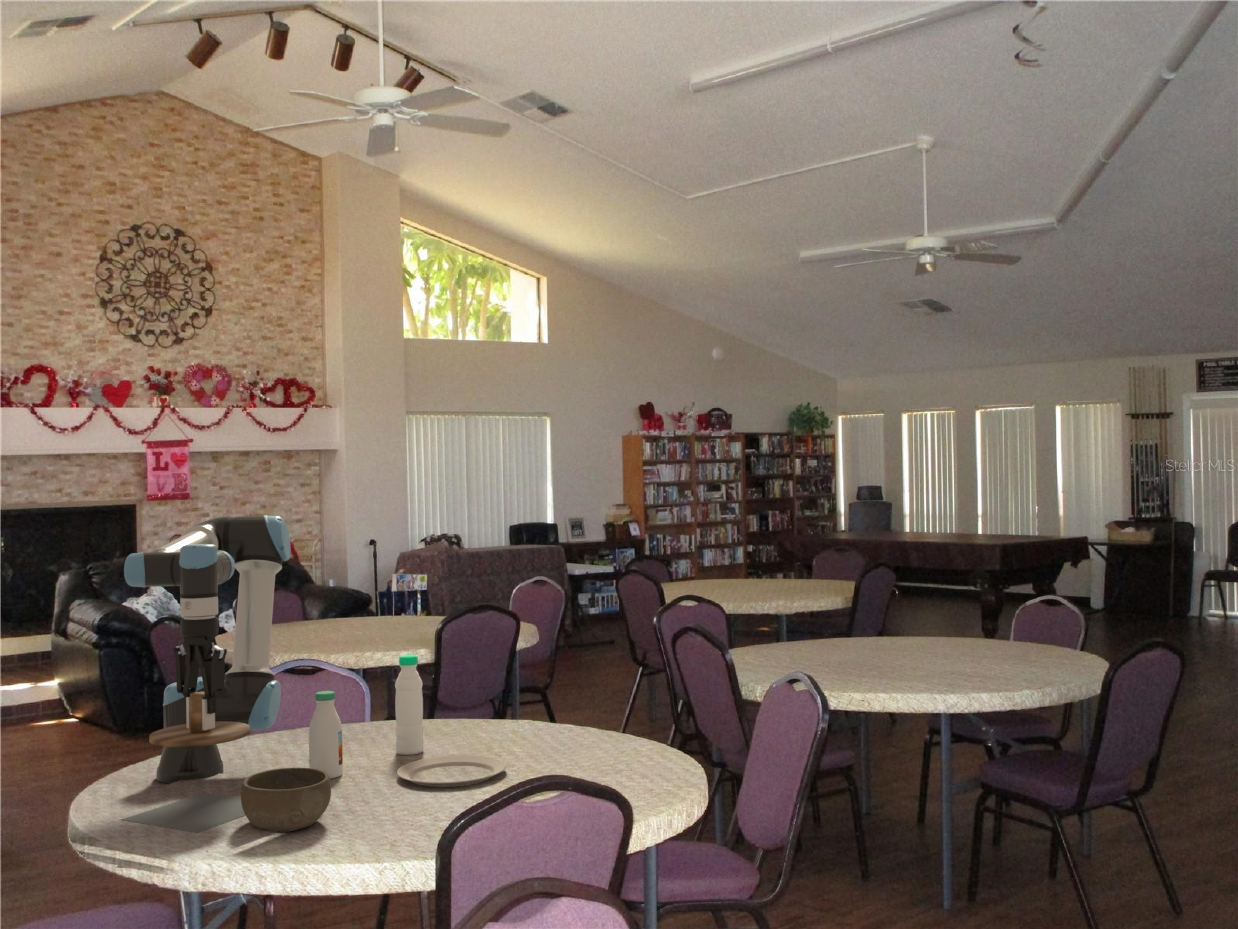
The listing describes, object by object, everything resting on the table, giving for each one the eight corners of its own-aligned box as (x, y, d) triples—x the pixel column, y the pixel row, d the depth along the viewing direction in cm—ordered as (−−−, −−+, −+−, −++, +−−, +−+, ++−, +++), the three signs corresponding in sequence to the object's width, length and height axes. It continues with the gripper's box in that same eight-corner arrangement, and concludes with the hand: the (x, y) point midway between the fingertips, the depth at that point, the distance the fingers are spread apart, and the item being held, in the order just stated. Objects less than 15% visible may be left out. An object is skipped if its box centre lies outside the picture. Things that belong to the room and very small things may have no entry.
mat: (120, 824, 228) (120, 819, 228) (204, 797, 248) (204, 792, 248) (197, 837, 218) (197, 832, 218) (278, 808, 238) (278, 803, 238)
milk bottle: (333, 780, 260) (332, 695, 260) (303, 779, 261) (302, 695, 262) (348, 772, 267) (347, 689, 268) (318, 771, 269) (317, 689, 269)
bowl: (317, 839, 216) (317, 787, 216) (227, 840, 216) (226, 789, 217) (341, 813, 233) (340, 765, 234) (257, 814, 234) (256, 767, 234)
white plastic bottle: (410, 757, 282) (409, 658, 282) (390, 754, 285) (388, 656, 286) (429, 751, 288) (427, 654, 288) (409, 748, 291) (407, 653, 292)
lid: (127, 742, 229) (127, 698, 229) (203, 723, 247) (203, 682, 247) (197, 750, 220) (196, 705, 220) (270, 730, 238) (270, 688, 238)
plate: (375, 779, 262) (375, 770, 262) (460, 758, 280) (459, 750, 280) (442, 797, 244) (442, 788, 244) (527, 774, 263) (527, 765, 263)
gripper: (156, 617, 235) (158, 728, 234) (214, 620, 227) (216, 735, 226) (185, 613, 241) (186, 721, 241) (242, 616, 233) (243, 727, 233)
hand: (200, 727), depth 233 cm, fingers closed on lid, 4 cm apart
